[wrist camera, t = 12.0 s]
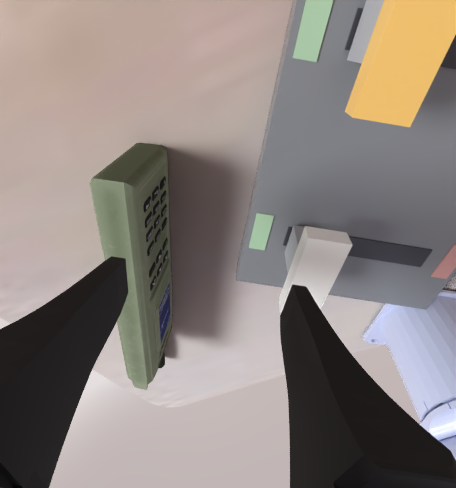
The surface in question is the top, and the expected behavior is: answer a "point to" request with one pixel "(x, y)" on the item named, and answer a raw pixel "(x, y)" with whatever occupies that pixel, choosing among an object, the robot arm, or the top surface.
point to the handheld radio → (139, 252)
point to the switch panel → (353, 170)
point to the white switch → (314, 261)
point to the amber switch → (398, 57)
